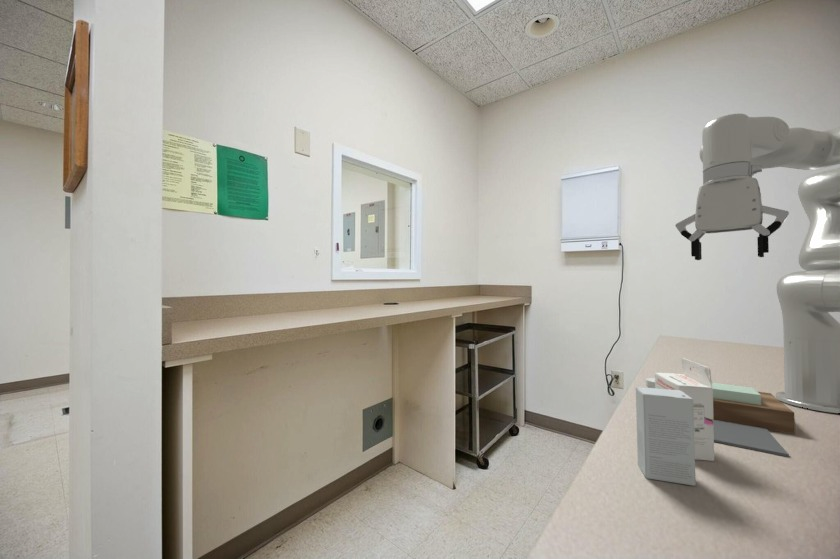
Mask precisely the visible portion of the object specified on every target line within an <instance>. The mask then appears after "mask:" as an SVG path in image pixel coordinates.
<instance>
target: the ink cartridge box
mask: <svg viewBox="0 0 840 559" xmlns="http://www.w3.org/2000/svg"><path fill="white" fill-rule="evenodd" d="M681 365H682V366H681V367H682V373H675V372H674V373H673V372H654V378H655V388H657V389H669V390H681V391H682V392H684V393H685V394H687V395H688V396H689V397H691V398H692V399H693V413H694V442H695V461H696V460H698V461H699V460H700V461H709V462H714V461H715V442H714V423H713V421H714V420H713V388H712V383H713V382H712V372H711V369H710V367H709V366H706V365H703V364H702V363H698V362H696V361H693V360H690V359H687V358H685V357H681ZM692 368H693V369H696V370H697V371H699V373H698V372H696V371H693V370H692Z"/></svg>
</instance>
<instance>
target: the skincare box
mask: <svg viewBox="0 0 840 559" xmlns="http://www.w3.org/2000/svg"><path fill="white" fill-rule="evenodd" d="M635 409H636V410H635V411H636V412H635V413H636V443H637V444H636V448H637V451H636V453H637V465H638V468H639V469H640V470H641V472H642V474H643V475H644V477H645V479H646V480H647V479H648V480H656V481H660V482H661V481H662V482H668V483H674V484H681V485H687V486H692V487H695V486H696V484H697V482H696V459H695V442H694V413H693V399H692V398H691V397H689V396H688V395H687V394H685V393H684V392H682V391H681V390H669V389H657V388H647V387H642V386H636V387H635Z"/></svg>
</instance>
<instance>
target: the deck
mask: <svg viewBox="0 0 840 559" xmlns="http://www.w3.org/2000/svg"><path fill="white" fill-rule="evenodd" d="M757 392H758V393H759V394H760V395H761V405H757V404H750V403H743V402H736V401H729V400H722V399H715V398H713V420H719V421H725V422H731V423H736V424H742V425H748V426H754V427H760V428H765V429H767V430H768V431H774V432H779V433H780V432H781V433H786V434H792V435H795V434H796V431H795V430H796V428H795V426H796V425H795V424H796V423H795V412H794V411H793V410H792V409H791V408H789V407H788V406H787V405H786V404H785V403H784V402H782V401H780V400H778V399H777V398H776V395H774V394H772V392H764V391H757Z"/></svg>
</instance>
